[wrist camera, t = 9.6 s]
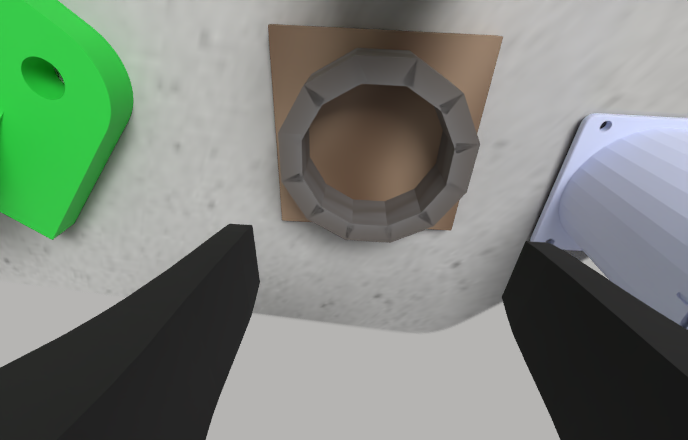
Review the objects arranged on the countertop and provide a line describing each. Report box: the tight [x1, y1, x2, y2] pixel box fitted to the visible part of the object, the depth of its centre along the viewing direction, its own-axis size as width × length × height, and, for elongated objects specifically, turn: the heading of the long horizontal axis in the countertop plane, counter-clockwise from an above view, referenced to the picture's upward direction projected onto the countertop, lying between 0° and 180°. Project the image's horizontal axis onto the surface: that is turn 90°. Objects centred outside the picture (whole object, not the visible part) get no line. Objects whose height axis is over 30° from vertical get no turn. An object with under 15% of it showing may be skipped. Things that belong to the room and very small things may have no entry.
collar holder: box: [268, 24, 503, 242], centre depth 16 cm, size 10×10×3 cm
